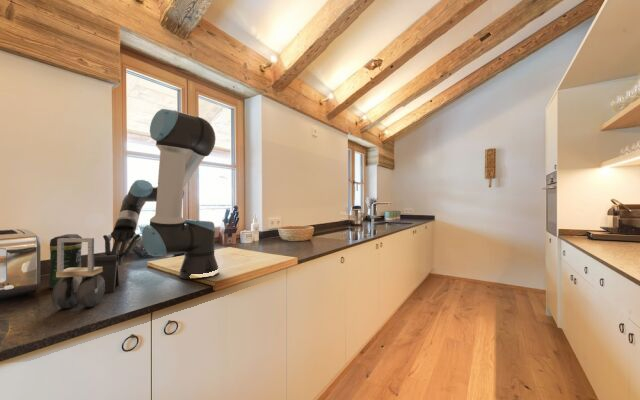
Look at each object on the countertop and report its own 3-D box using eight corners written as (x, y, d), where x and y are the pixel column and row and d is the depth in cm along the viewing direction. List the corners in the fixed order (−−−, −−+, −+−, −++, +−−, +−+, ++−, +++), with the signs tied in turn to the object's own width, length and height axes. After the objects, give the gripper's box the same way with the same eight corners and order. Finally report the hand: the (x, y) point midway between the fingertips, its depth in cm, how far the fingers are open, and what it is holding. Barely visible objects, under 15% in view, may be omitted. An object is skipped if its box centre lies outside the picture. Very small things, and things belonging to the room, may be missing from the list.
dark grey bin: (113, 292, 93) (113, 257, 93) (91, 294, 91) (91, 258, 91) (120, 284, 101) (120, 252, 101) (100, 286, 99) (100, 253, 99)
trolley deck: (102, 271, 84) (102, 266, 84) (92, 276, 79) (92, 270, 79) (68, 272, 82) (68, 267, 82) (56, 277, 77) (56, 272, 77)
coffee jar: (73, 288, 97) (74, 235, 97) (44, 290, 94) (45, 236, 94) (85, 280, 106) (85, 232, 106) (58, 282, 103) (59, 233, 103)
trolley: (105, 300, 86) (105, 235, 86) (86, 311, 77) (87, 239, 77) (73, 301, 84) (74, 235, 84) (51, 313, 76) (51, 239, 76)
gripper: (145, 228, 122) (134, 275, 106) (110, 229, 118) (93, 278, 102) (142, 217, 117) (130, 265, 101) (106, 217, 113) (87, 268, 97)
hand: (112, 272), depth 102 cm, fingers closed
